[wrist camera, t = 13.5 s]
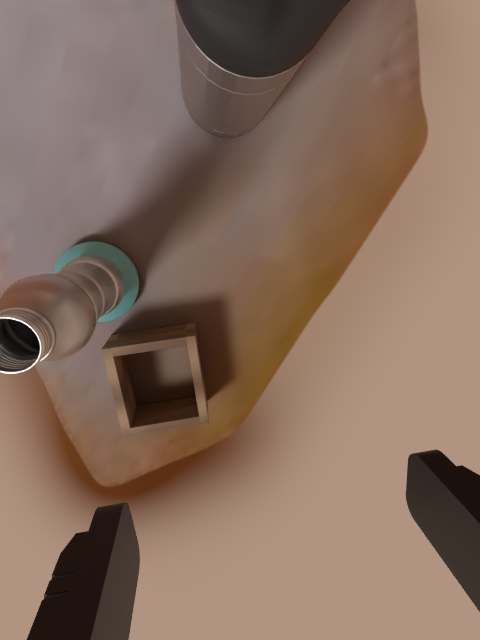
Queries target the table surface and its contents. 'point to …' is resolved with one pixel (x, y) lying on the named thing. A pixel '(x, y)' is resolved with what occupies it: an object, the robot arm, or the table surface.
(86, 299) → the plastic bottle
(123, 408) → the walnut holder
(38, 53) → the table surface
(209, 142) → the table surface
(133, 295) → the teal coaster
